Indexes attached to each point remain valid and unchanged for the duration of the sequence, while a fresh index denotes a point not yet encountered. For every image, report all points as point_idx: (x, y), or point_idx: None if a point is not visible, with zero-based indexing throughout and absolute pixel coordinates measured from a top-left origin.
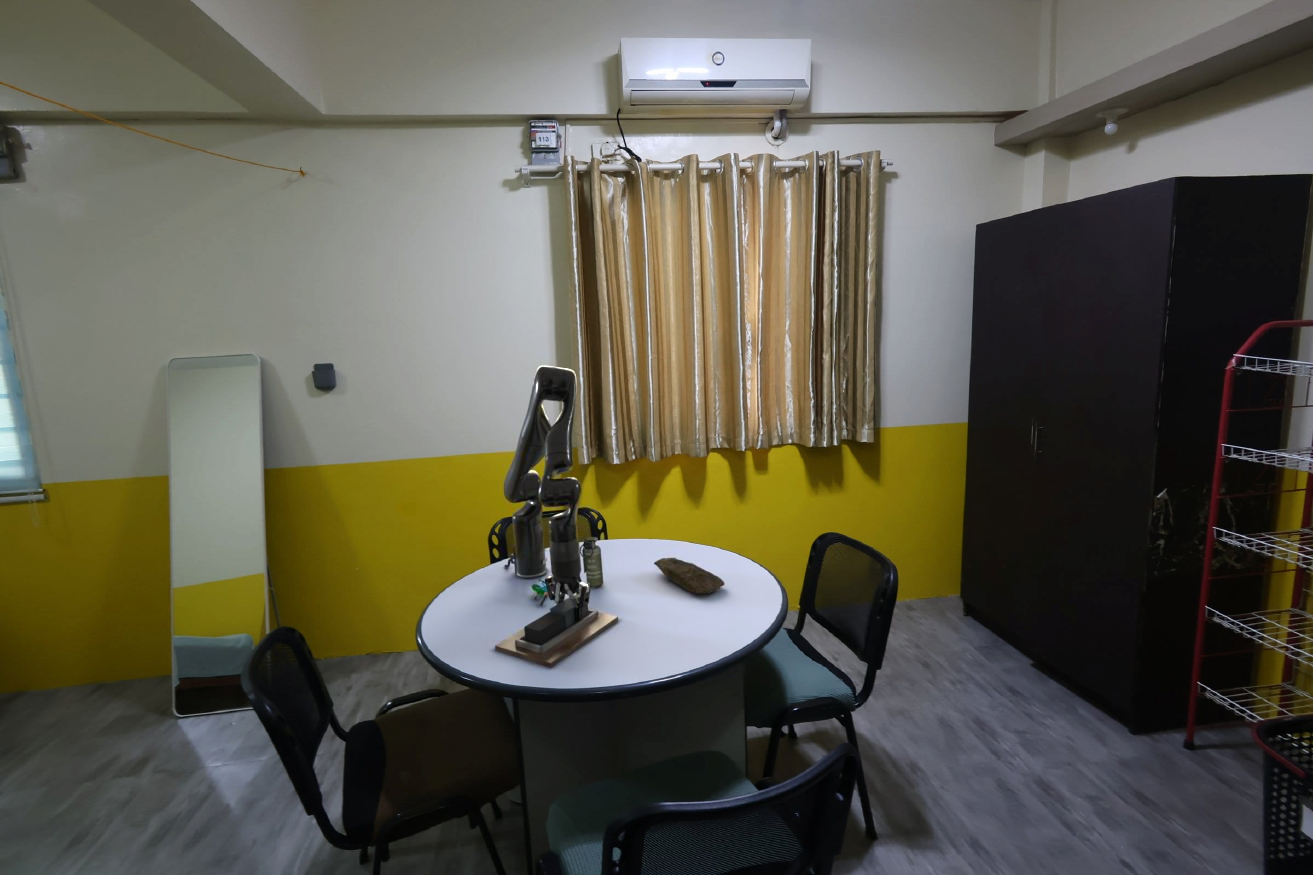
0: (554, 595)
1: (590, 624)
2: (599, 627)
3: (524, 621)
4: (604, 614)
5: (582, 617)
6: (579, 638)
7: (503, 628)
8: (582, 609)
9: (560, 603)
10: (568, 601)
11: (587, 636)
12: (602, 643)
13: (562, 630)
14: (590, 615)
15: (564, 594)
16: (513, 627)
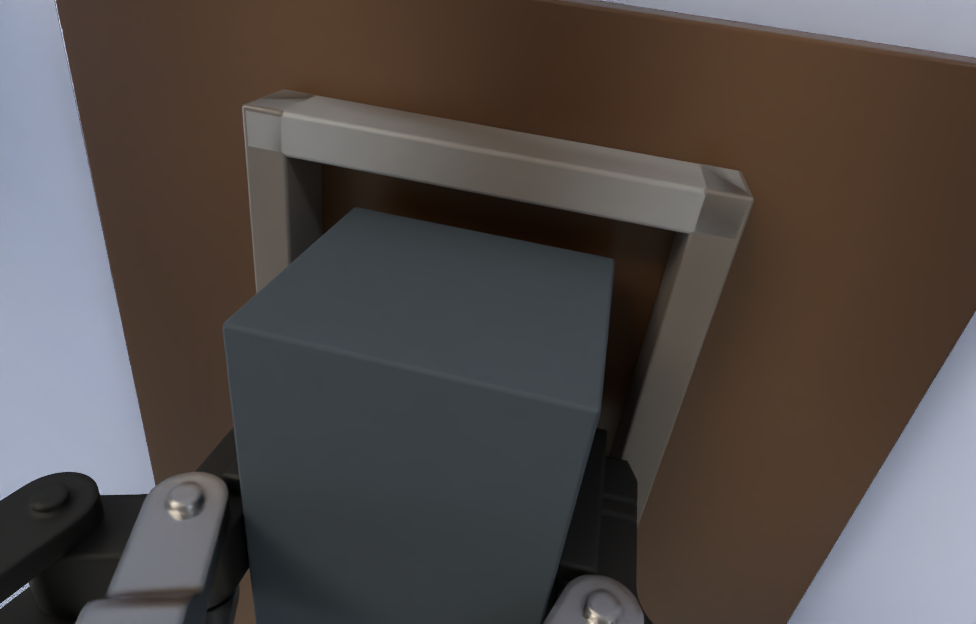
0: (75, 599)
1: (718, 392)
2: (866, 437)
3: (28, 346)
4: (821, 83)
5: (631, 480)
6: (719, 620)
7: (13, 463)
8: (634, 563)
9: (278, 596)
10: (336, 538)
11: (787, 591)
12: (951, 575)
13: None
14: (687, 352)
15: (204, 619)
16: (54, 442)
